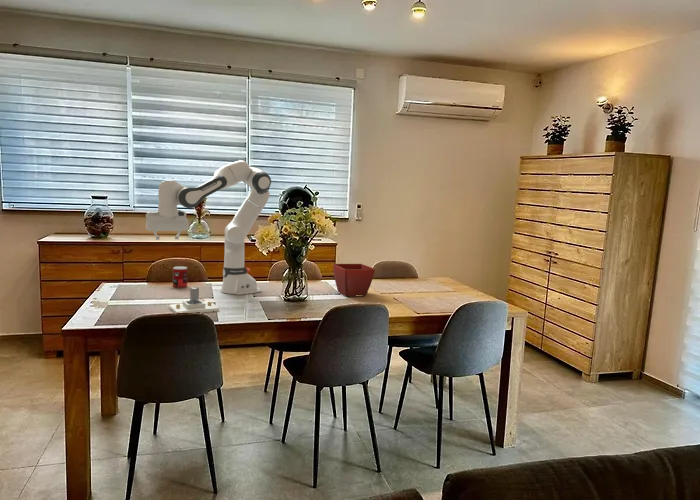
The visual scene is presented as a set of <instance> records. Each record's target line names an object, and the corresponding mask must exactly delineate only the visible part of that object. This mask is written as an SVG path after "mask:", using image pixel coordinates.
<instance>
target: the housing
mask: <svg viewBox="0 0 700 500" xmlns="http://www.w3.org/2000/svg"><path fill="white" fill-rule="evenodd" d="M168 308H169V309H170V310H171V311H172V313H174V314H175V313H179V312H200V313H199V314H201V313H203V314H204V313H213V311H214V312H220V307H219V306H217V305H216V304H215V303H213V302H212V301H210V300H209V301H203V300H202V299H199V304H190V299H189V300H182V303H175V304H174V303H172V304H169V305H168Z"/></svg>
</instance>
